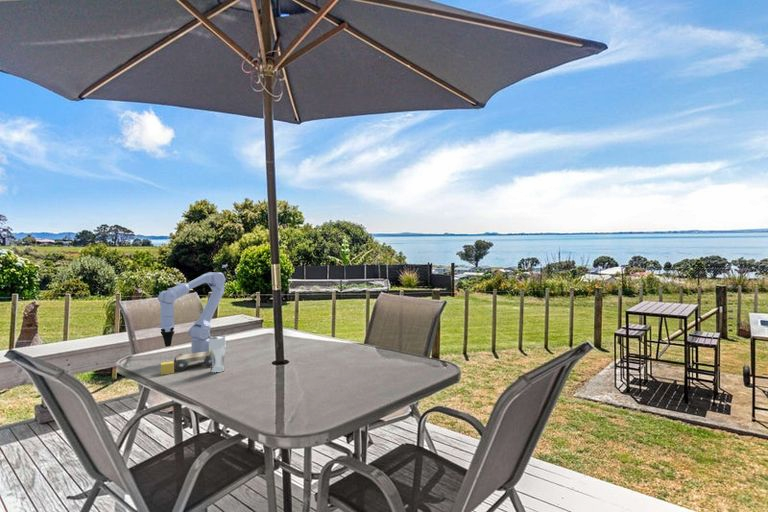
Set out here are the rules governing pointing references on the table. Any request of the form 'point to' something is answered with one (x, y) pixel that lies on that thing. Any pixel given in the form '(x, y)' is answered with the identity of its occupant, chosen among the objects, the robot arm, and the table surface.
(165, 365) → the block
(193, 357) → the dolly
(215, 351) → the beer glass
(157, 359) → the table surface
